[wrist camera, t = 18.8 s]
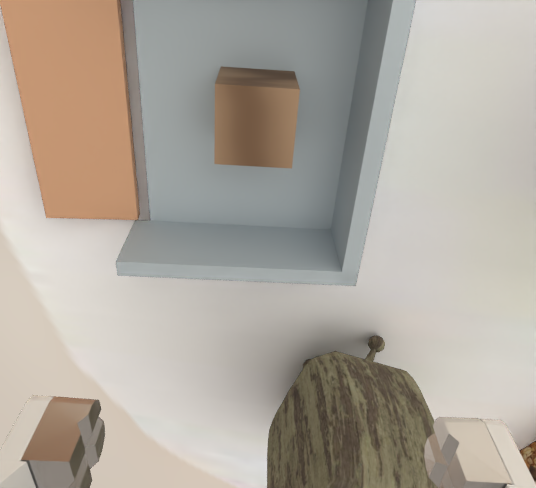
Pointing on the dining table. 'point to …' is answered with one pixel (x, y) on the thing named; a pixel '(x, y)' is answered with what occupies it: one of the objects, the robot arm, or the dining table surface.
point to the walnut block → (255, 117)
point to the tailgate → (75, 104)
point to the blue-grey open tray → (264, 178)
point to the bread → (530, 459)
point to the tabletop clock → (350, 427)
